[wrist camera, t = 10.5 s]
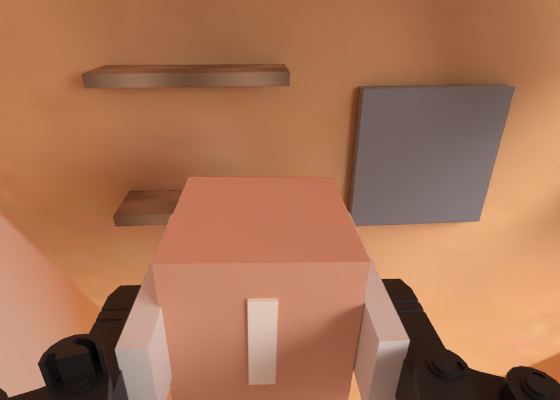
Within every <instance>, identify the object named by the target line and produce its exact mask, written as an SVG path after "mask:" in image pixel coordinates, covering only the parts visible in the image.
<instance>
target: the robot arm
mask: <svg viewBox="0 0 560 400" xmlns="http://www.w3.org/2000/svg"><path fill="white" fill-rule="evenodd" d="M172 215H173V214H171V215H170V218H169V220H168V223H167V225H166V227H165V230H164V232H163V235H162V237H161V240H160V242H159V244H158V247H157V249H156V252H155V254H154V256H153V259H152V261H151V264H150V266H149V268H148V271H147V273H146V276H145V278H144V281H143V283H142V285H126V286H119V287H118V288H117V289H116V290H115V291H114V292H113V293H112V294H110V295H109V296H108V298H107V300H106V302H105V304H104V306H103V307H102V311H101V312H100V313H99V315H98V317H97V319H96V322H95V323H94V325H93V327H92V329H91V331H90V333H89V334H79V335H73V336H70V337H67V338H64V339H62V340H60V341H58V342H57V343H55V344H54V345H52V346H51V347H50V348H49V349H48V350H47V351H46V352H45V353H44V354H43V355H42V357H41V359H40V361H39V363H38V365H39V368H40V370H41V373H42V376H43V379H44V381H45V384H46V386H44V387H42V388H39V389H36V390H33V391H30V392H26V393H23V394H20V395H17V396H13V397H9V398H8V396H7V394H6V392H4V391H3V390H2V389H0V400H167V397H168V393H169V389H170V384H171V380H172V373H171V367H170V360H169V354H168V347H167V341H166V334H165V328H164V321H163V315H162V308H161V307H158V301H157V295H156V288H155V282H154V275H153V269H152V262H153V260H154V257H155V255H156V253H157V250H158V248H159V246H160V243H161V241H162V238H163V236H164V234H165V231H166V229H167V227H168V224H169V222H170V220H171V217H172ZM349 215H350V213H349ZM350 217H351V215H350ZM351 219H352V217H351ZM352 221H353V219H352ZM353 224H354V226H355V228H356V230H357V232H358V229H357V227H356V225H355V223H354V221H353ZM358 235H359V237H360V239H361V241H362V244H363V246H364V248H365V250H366V252H367V255H368V257H369V259H370V261H371V263H370V270H369V276H368V282H367V288H366V294H365V300H364V306H363V313H362V319H361V325H360V331H359V337H358V343H357V349H356V356H355V362H354V368H353V370H354V373H355V377H356V381H357V384H358V388H359V392H360V395H361V399H362V400H560V384H559V383H558V382H557V381H556V380H554V379H553V378H552V377H550V376H549V375H547V374H546V373H544V372H542V371H539V370H537V369H534V368H531V367H524V366H519V367H514V368H512V369H511V370H510V371H509V372H507V375H506V377H505V378H504V377H500V376H496V375H492V374H488V373H483V372H479V371H476V370H473V369H471V368H469V367H468V365H467V364H466V363H465V361H464V360H463V359H462V358H461V357H460V356H458V355H456V354H455V353H453V352H452V351H450V350H447V349H446V348H445V347H444V345H443V343H442V341H441V340H440V338H439V336H438V334H437V333H436V331H435V329H434V327H433V326H432V324H431V322H430V320H429V319H428V317H427V315H426V313H425V312H424V310H423V308H422V306H421V304H420V303H418V299H417V297H416V296H415V294H414V292H413V290H412V289H411V288H410V287H409V286H408V285H407V284H405V283H404V282H403V281H402V280H401V279H381V278H380V276H379V274H378V272H377V270H376V268H375V265H374V263H373V261H372V259H371V257H370V255H369V253H368V251H367V248H366V246H365V244H364V242H363V240H362V238H361V236H360V234H359V232H358Z"/></svg>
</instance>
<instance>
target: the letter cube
mask: <svg viewBox="0 0 560 400" xmlns="http://www.w3.org/2000/svg"><path fill="white" fill-rule="evenodd" d="M370 263H371V261H370V259H369V257H368V255H367V252H366V250H365V248H364V246H363V244H362V241H361V239H360V237H359V235H358V232H357V230H356V228H355V226H354V224H353V221H352V219H351V217H350V215H349V212H348V210H347V208H346V206H345V204H344V201H343V199H342V197H341V195H340V192H339V190H338V188H337V186H336V184H335V181H334V179H333V177H188V179H187V182H186V184H185V187H184V189H183V191H182V194H181V196H180V198H179V201H178V203H177V205H176V208H175V210H174V213H173V215H172V217H171V220H170V222H169V224H168V227H167V229H166V231H165V234H164V236H163V238H162V241H161V243H160V246H159V248H158V250H157V253H156V255H155V257H154V260H153V262H152V269H153V275H154V282H155V288H156V295H157V301H158V307H161V308H162V315H163V321H164V328H165V334H166V341H167V347H168V354H169V360H170V367H171V373H172V380H171V384H170V387H171V393H172V399H173V400H348V399H349V392H350V386H351V380H352V374H353V368H354V362H355V356H356V349H357V343H358V337H359V331H360V325H361V319H362V313H363V306H364V300H365V294H366V288H367V282H368V276H369V270H370Z"/></svg>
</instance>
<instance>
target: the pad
mask: <svg viewBox="0 0 560 400" xmlns="http://www.w3.org/2000/svg"><path fill="white" fill-rule="evenodd" d="M514 89H515V87H512V86H509V85H450V86H362V87H360V92H359V103H358V114H357V125H356V136H355V146H354V157H353V168H352V179H351V190H350V201H349V213H350V215H351V217H352V219H353V221H354V223H355V225H356V226H368V225H395V224H422V223H449V222H477V221H479V219H480V215H481V212H482V208H483V204H484V201H485V197H486V193H487V189H488V186H489V182H490V178H491V174H492V171H493V167H494V163H495V159H496V156H497V152H498V148H499V145H500V141H501V137H502V133H503V130H504V126H505V122H506V118H507V115H508V111H509V107H510V103H511V100H512V96H513V92H514Z"/></svg>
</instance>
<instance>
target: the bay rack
mask: <svg viewBox="0 0 560 400" xmlns="http://www.w3.org/2000/svg"><path fill="white" fill-rule="evenodd" d="M82 77H83V82H84V86H85V88H147V87H237V86H289V80H290V72H289V71H288V69H287V68H286V66H285V65H284V64H257V65H118V66H103V67H100V68H97V69H94V70H91V71H89V72H86V73H83V74H82ZM182 191H183V190H167V191H133V192H129V193H128V195H127V196H126V198H125V199H124V201H123V202H122V204H121V205H120V207H119V208H118V210H117V211H116V213H115V214H114V216H113V218H114V222H115V226H137V225H165V224H167V223H168V220H169V218H170V215H171V214H173V213H174V210H175V208H176V205H177V203H178V201H179V198H180V196H181V194H182Z"/></svg>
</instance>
